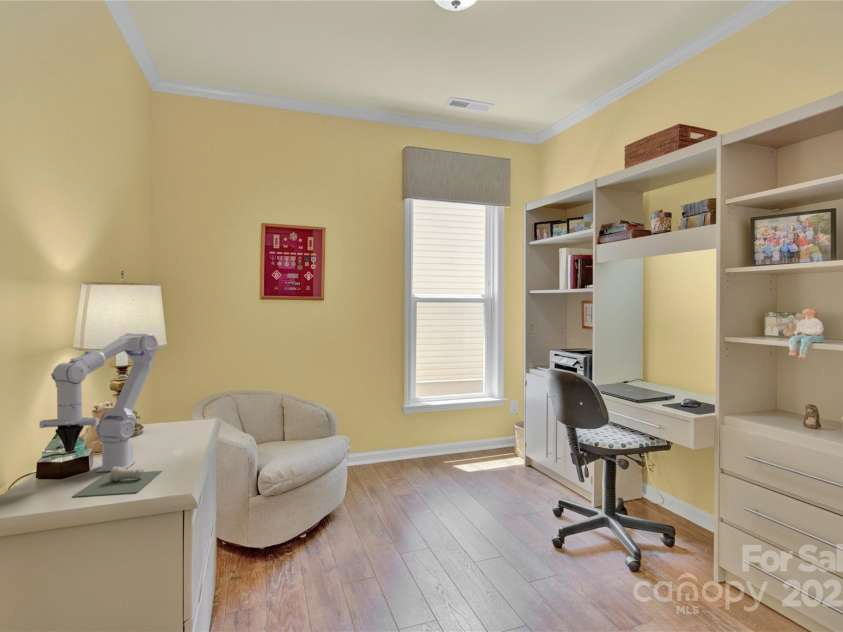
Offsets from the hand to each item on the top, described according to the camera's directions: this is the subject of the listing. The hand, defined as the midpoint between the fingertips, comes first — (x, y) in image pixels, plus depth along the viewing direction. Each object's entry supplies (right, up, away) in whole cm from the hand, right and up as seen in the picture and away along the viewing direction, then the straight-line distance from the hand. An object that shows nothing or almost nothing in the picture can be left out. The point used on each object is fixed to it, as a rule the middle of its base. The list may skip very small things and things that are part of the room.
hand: (70, 451), depth 137 cm
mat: (+15, -9, 0) cm, 17 cm away
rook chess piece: (+12, -7, +1) cm, 14 cm away
